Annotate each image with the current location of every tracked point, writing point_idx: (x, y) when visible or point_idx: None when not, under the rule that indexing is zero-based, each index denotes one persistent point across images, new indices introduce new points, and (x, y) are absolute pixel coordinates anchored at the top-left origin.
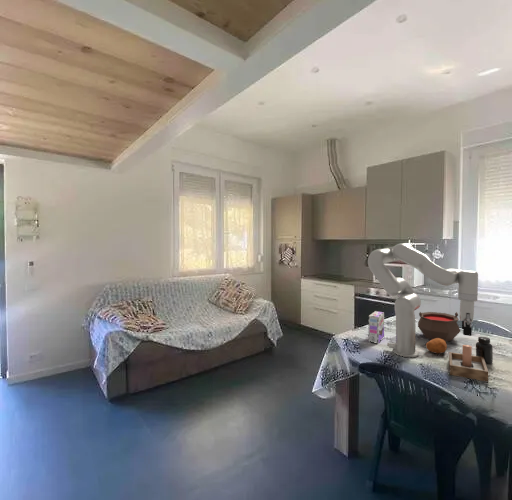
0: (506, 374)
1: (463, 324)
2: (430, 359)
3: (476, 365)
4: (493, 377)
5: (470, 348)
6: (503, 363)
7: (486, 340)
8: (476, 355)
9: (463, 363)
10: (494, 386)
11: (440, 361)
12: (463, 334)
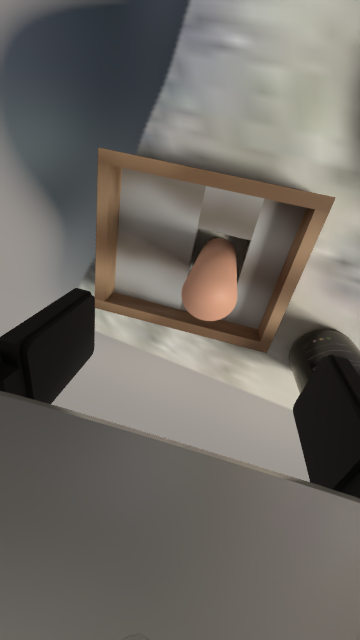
0: (200, 370)
1: (339, 410)
2: (329, 64)
3: None
4: None
5: (186, 305)
6: None
7: None
8: (333, 341)
9: (208, 245)
10: None
11: (298, 136)
12: (76, 289)
